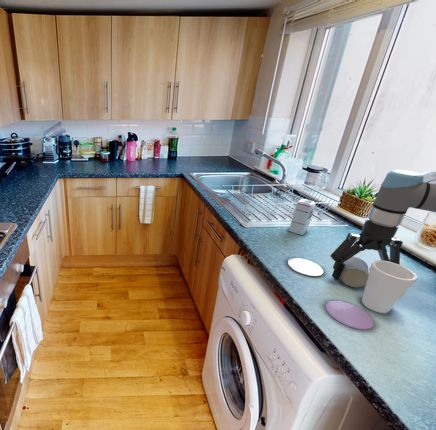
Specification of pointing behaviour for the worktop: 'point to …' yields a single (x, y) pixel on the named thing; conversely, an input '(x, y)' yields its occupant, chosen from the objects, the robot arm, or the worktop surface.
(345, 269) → the ceramic mug
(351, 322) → the lilac coaster
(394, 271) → the foam cup
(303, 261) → the cork coaster
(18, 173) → the worktop surface
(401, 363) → the worktop surface
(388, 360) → the worktop surface
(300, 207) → the syrup box
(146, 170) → the worktop surface
